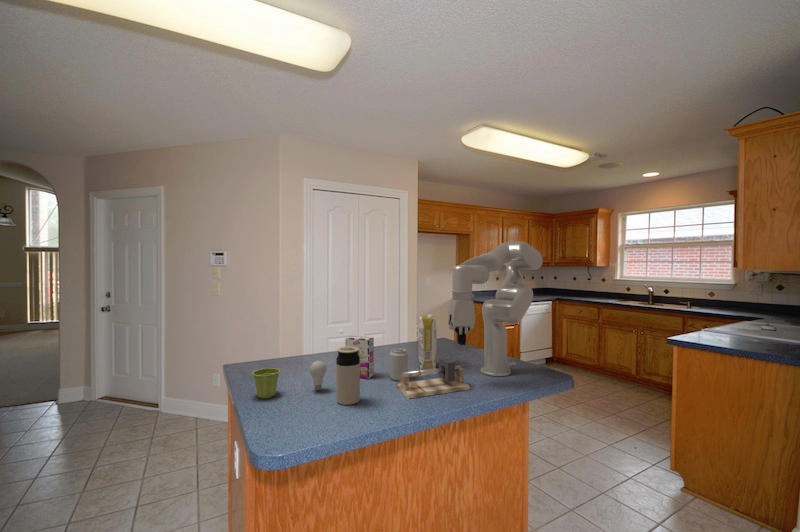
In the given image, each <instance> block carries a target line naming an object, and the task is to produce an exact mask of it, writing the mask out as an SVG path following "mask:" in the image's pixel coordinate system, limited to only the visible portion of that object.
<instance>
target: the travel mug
mask: <svg viewBox="0 0 800 532" xmlns="http://www.w3.org/2000/svg"><path fill="white" fill-rule="evenodd" d="M336 351H337V354H338V355H337V357H336V360H335V361H336V362H335V363H336V370H335V371H336V373H335V375H336V403H338V404H339V405H343V406H350V405H355V404H357V403H359V402H360V400H361V395H360V394H361V378H360V357H359V355H358V351H359V348H357V347H346V346H342V347H338V348H337V349H336Z"/></svg>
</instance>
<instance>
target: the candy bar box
mask: <svg viewBox="0 0 800 532" xmlns="http://www.w3.org/2000/svg"><path fill="white" fill-rule="evenodd" d="M374 341H375V340H374V337H372V336H371V337H370V336H361V335H360V336H357V335H349V336H346V337H345V347H357V348H359V351H358V355H359V357H360V379H366V380H370V379H371V378H373V377H374V375H375V371H374V370H375V365H374V364H375V363H374V361H375V360H374V359H375V357H374V354H375V353H374V350H375V349H374V346H375V345H374V343H375V342H374Z"/></svg>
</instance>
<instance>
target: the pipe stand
mask: <svg viewBox="0 0 800 532" xmlns="http://www.w3.org/2000/svg"><path fill="white" fill-rule="evenodd" d="M464 371H465V369H464V368H462V369H459V370H458V371H455V381H452V382H447V381H445V380H444V379H442V378H440V377H438V378H431V379H429V378H428V379H422V380H415V381H410V377H409V376H404V375H402V374H401V381H400V382H399V383H395V388H396V389H397V390H398V391H399V392H400V393H401V394H402V395H404V396H405V398H407V399H408V400H409V399H410V398H411V399H415V398H422V397H423V396H424V397H430V396H437V395H442V394H443V395H444V394H449V393H455V392H462V391H468V390H470V389H471V385H470V384H468V383H466V382H465V379H464V378H465V377H464V375H465V372H464ZM436 394H437V395H436ZM429 395H430V396H429ZM424 397H423V398H424Z"/></svg>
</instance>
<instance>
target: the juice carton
mask: <svg viewBox="0 0 800 532" xmlns="http://www.w3.org/2000/svg"><path fill="white" fill-rule="evenodd" d="M418 364H419V368H420V370H426V369H434V368H436V366H437V321H436V318H435V317H434V314H427V315H424V316H423V315H421V316H419V319H418Z"/></svg>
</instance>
